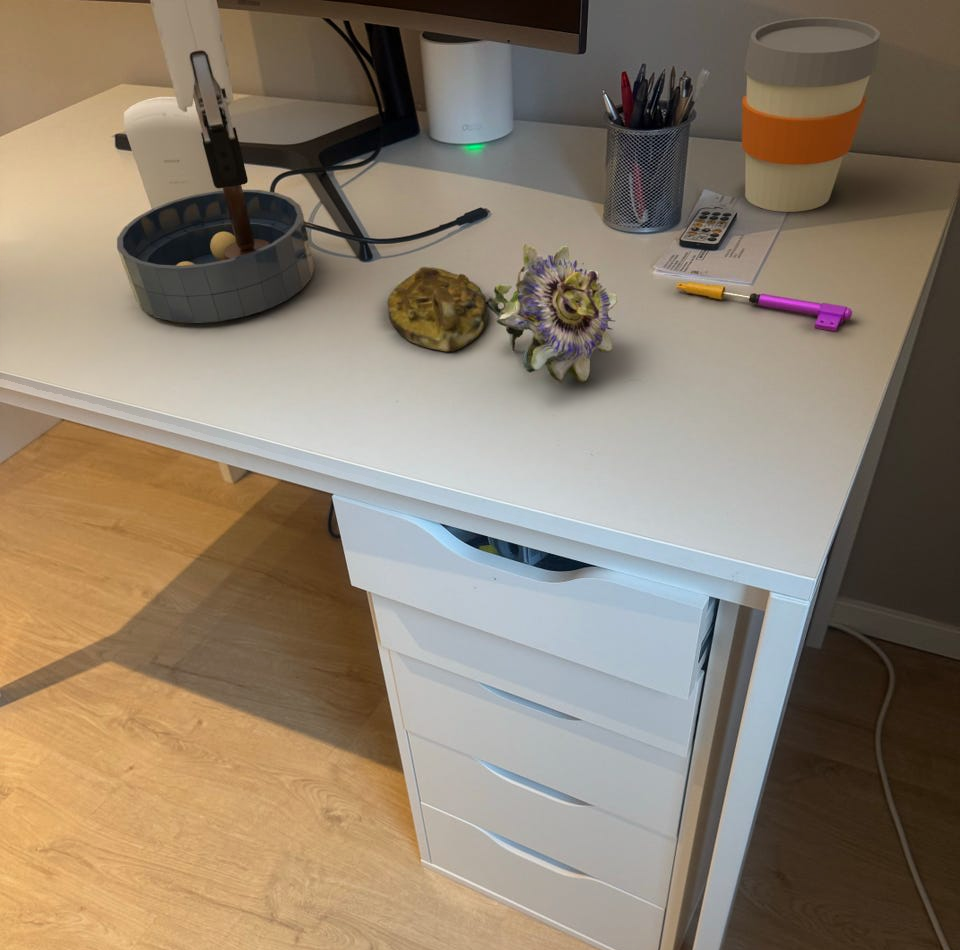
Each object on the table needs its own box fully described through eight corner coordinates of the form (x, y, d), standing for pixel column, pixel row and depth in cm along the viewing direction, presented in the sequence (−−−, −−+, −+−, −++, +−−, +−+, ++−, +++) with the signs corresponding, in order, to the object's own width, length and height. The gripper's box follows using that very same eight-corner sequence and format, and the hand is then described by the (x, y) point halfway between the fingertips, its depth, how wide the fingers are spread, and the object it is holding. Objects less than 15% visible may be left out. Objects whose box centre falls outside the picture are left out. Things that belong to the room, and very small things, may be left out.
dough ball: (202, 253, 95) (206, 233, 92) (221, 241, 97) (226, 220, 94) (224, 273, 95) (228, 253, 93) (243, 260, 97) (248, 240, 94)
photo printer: (149, 223, 106) (110, 106, 97) (164, 208, 109) (127, 93, 100) (232, 222, 104) (200, 103, 95) (244, 207, 107) (214, 90, 98)
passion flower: (578, 431, 80) (552, 376, 69) (480, 379, 83) (439, 318, 72) (646, 322, 80) (631, 248, 68) (544, 275, 83) (514, 196, 72)
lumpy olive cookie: (378, 299, 91) (410, 371, 81) (366, 254, 87) (397, 322, 77) (466, 271, 91) (508, 339, 81) (457, 225, 88) (500, 290, 78)
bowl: (139, 343, 86) (116, 282, 82) (137, 264, 98) (117, 208, 94) (326, 307, 88) (314, 245, 84) (302, 234, 101) (290, 177, 96)
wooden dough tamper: (228, 281, 91) (187, 127, 81) (228, 261, 94) (189, 110, 84) (276, 275, 91) (241, 120, 81) (274, 255, 95) (240, 104, 84)
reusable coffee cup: (847, 221, 93) (884, 53, 82) (722, 216, 96) (742, 53, 85) (848, 174, 101) (882, 15, 90) (733, 171, 104) (752, 17, 93)
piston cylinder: (852, 315, 79) (679, 286, 86) (854, 304, 78) (679, 276, 85) (842, 336, 78) (669, 305, 85) (844, 325, 77) (668, 294, 84)
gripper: (123, -69, 78) (187, 159, 91) (123, -34, 67) (195, 218, 81) (211, -80, 79) (261, 147, 92) (223, -47, 68) (278, 204, 82)
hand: (230, 179), depth 86 cm, fingers closed on wooden dough tamper
